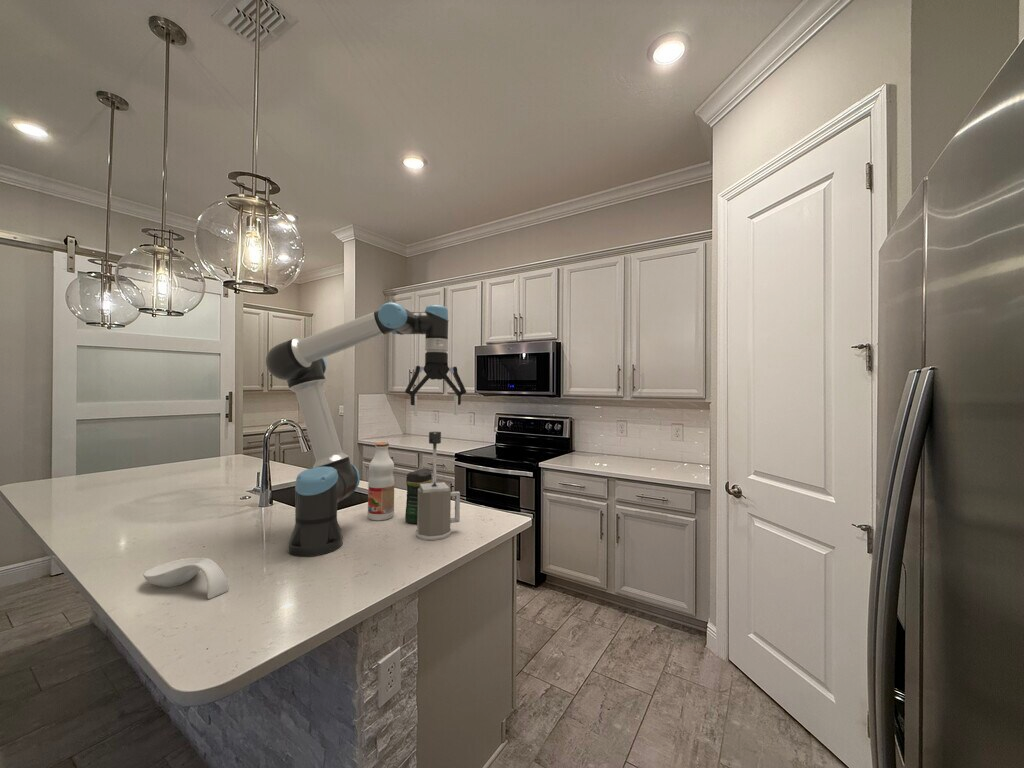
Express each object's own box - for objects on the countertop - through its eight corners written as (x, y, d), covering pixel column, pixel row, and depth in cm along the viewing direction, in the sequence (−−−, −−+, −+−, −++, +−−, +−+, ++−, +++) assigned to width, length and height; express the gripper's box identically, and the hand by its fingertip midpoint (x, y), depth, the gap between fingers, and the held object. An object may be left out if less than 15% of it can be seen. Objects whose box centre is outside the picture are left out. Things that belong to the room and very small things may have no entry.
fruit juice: (394, 519, 155) (395, 444, 155) (367, 522, 152) (368, 445, 152) (393, 512, 164) (394, 440, 164) (367, 514, 160) (368, 441, 161)
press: (418, 542, 133) (418, 491, 133) (414, 530, 144) (414, 483, 144) (462, 537, 138) (463, 488, 138) (455, 525, 149) (455, 480, 149)
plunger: (424, 495, 136) (425, 433, 136) (421, 489, 143) (422, 431, 143) (447, 493, 138) (448, 433, 138) (443, 488, 145) (444, 430, 145)
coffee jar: (420, 525, 148) (420, 473, 148) (401, 522, 151) (402, 471, 151) (434, 517, 157) (435, 468, 157) (417, 515, 160) (417, 466, 160)
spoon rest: (132, 587, 102) (133, 558, 102) (185, 568, 113) (186, 541, 113) (193, 608, 93) (194, 576, 93) (244, 585, 104) (245, 556, 104)
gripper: (399, 349, 133) (398, 416, 133) (475, 352, 141) (474, 415, 141) (397, 351, 140) (396, 414, 140) (469, 354, 148) (469, 413, 148)
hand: (435, 415), depth 140 cm, fingers open, 13 cm apart
